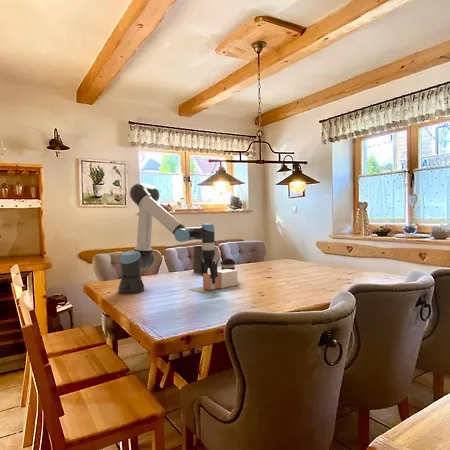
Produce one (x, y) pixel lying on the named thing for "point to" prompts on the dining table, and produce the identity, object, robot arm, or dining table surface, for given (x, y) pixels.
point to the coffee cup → (228, 264)
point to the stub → (207, 281)
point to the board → (202, 290)
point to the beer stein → (197, 258)
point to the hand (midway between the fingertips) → (209, 288)
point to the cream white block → (228, 278)
